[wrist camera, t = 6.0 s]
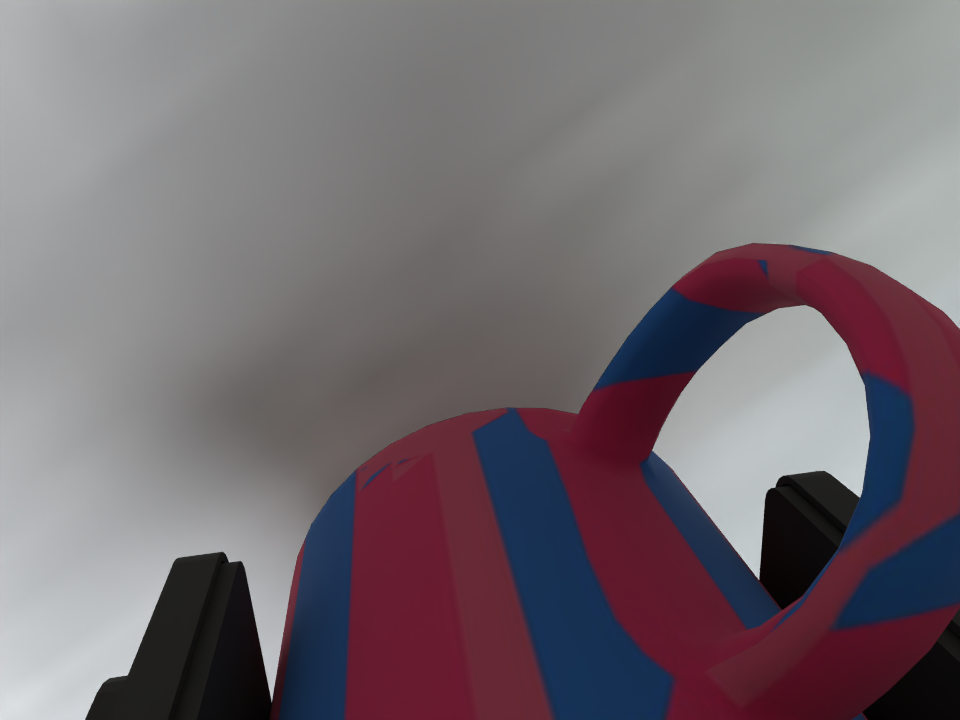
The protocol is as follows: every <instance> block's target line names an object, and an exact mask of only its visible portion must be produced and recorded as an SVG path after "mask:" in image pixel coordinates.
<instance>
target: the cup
mask: <svg viewBox="0 0 960 720" xmlns="http://www.w3.org/2000/svg"><path fill="white" fill-rule="evenodd" d="M800 305H807V306H810V307H813V308H815V309H816V310H818V311H819V312H820V313H822V315H823V316H824V317H825V318H826V319H827V321H828V322H829V323H830V324H831V326H832V327H833V328H834V329H835V330H836V332H837V333H838V334H839V335H840V337H841V338H842V339H843V340H844V341H845V343H846V344H847V346H848V349H849V351H850V353H851V355H852V358H853V360H854V362H855V364H856V367H857V369H858V371H859V373H860V376H861V378H862V380H863V382H864V385H865V392H866V401H867V410H868V419H869V428H870V442H869V449H868V456H867V463H866V470H865V477H864V484H863V491H862V495H861V497H860V499H859V502H858V504H857V506H856V509H855V511H854V513H853V515H852V518H851V520H850V522H849V525H848V527H847V529H846V532H845V534H844V536H843V539H842V541H841V543H840V546H839V548H838V550H837V551H836V552H835V554H834V555H833V556H832V558H831V559H830V560H829V562H828V563H827V564H826V566H825V567H824V568H823V570H822V571H821V572H820V574H819V575H818V576H817V578H816V579H815V580H814V582H813V583H812V584H811V586H810V587H809V588H808V590H807V591H806V592H805V594H804V595H803V596H802V597H800V598H799V599H798V600H796V601H795V602H793V603H792V604H791V605H789V606H788V607H786V608H785V609H783V610H782V609H781V608H780V607H779V605H778V604H777V603H776V601H775V600H774V599H773V598H772V596H771V595H770V594H769V593H768V591H767V590H766V589H765V587H764V586H763V585H762V584H761V582H760V581H759V580H758V578H757V577H756V576H755V575H754V573H753V572H752V571H751V570H750V568H749V567H748V566H747V564H746V563H745V562H744V561H743V559H742V558H741V557H740V555H739V554H738V553H737V552H736V550H735V549H734V548H733V546H732V545H731V544H730V543H729V541H728V540H727V539H726V538H725V536H724V535H723V534H722V532H721V531H720V530H719V529H718V527H717V526H716V525H715V523H714V522H713V521H712V520H711V518H710V517H709V516H708V515H707V513H706V512H705V511H704V509H703V508H702V507H701V506H700V504H699V503H698V502H697V500H696V499H695V498H694V497H693V495H692V494H691V493H690V492H689V490H688V489H687V488H686V486H685V485H684V484H683V483H682V481H681V480H680V479H679V477H678V476H677V475H676V474H675V472H674V471H673V470H672V469H671V468H670V467H669V466H668V465H667V464H666V463H665V462H664V461H663V460H662V459H661V458H659V457H658V456H657V455H656V454H655V453H654V452H653V451H652V449H653V447H654V444H655V442H656V440H657V437H658V435H659V433H660V430H661V428H662V426H663V424H664V422H665V420H666V418H667V416H668V414H669V413H670V411H671V409H672V407H673V406H674V404H675V402H676V401H677V399H678V397H679V396H680V394H681V392H682V391H683V390H684V388H685V387H686V385H687V384H688V383H689V381H690V380H691V379H692V377H693V376H694V375H695V373H696V372H697V371H698V369H699V368H700V367H701V366H702V365H703V364H704V363H705V362H706V361H707V360H708V359H709V358H710V357H711V356H712V355H713V354H714V353H715V352H716V351H717V350H718V349H719V348H720V347H721V346H722V345H723V344H724V343H725V342H726V341H727V340H728V339H729V338H730V337H732V336H733V335H734V334H735V333H736V332H737V331H738V330H739V329H740V328H741V327H743V326H744V325H745V324H746V323H748V322H750V321H752V320H754V319H757V318H759V317H761V316H763V315H765V314H767V313H769V312H771V311H773V310H776V309H778V308H784V307H792V306H800ZM959 608H960V329H959V328H958V327H957V326H956V325H955V324H954V322H953V321H952V320H951V319H950V318H949V317H948V316H947V315H946V314H945V313H944V312H943V311H942V310H940V309H939V308H937V307H936V306H934V305H933V304H931V303H930V302H928V301H927V300H925V299H924V298H922V297H921V296H919V295H918V294H916V293H915V292H913V291H912V290H910V289H909V288H907V287H906V286H904V285H902V284H901V283H899V282H898V281H896V280H894V279H893V278H891V277H889V276H888V275H886V274H884V273H883V272H881V271H880V270H878V269H876V268H875V267H873V266H871V265H868V264H865V263H862V262H859V261H856V260H853V259H850V258H848V257H845V256H842V255H839V254H836V253H833V252H829V251H823V250H817V249H811V248H805V247H799V246H794V245H781V244H759V243H751V244H747V245H743V246H739V247H735V248H731V249H727V250H723V251H719V252H716V253H715V254H714V255H712V256H711V257H709V258H708V259H707V260H705V261H704V262H702V263H701V264H699V265H698V266H697V267H695V268H694V269H692V270H691V271H690V272H688V273H687V274H685V275H684V276H683V277H682V278H681V279H680V280H679V281H678V282H676V283H675V284H674V285H673V286H672V287H671V288H670V289H669V290H668V291H667V292H666V294H665V295H664V296H663V297H662V298H661V299H660V300H659V301H658V302H657V303H656V304H655V305H654V306H653V307H652V308H651V309H650V310H649V312H648V313H647V314H646V315H645V317H644V318H643V319H642V320H641V321H640V323H639V324H638V325H637V326H636V328H635V329H634V330H633V331H632V332H631V334H630V335H629V336H628V337H627V339H626V340H625V342H624V343H623V345H622V346H621V348H620V349H619V351H618V352H617V354H616V355H615V357H614V358H613V360H612V361H611V362H610V364H609V365H608V367H607V368H606V370H605V372H604V373H603V375H602V376H601V378H600V379H599V381H598V382H597V384H596V386H595V387H594V389H593V390H592V392H591V393H590V395H589V396H588V398H587V399H586V401H585V402H584V404H583V406H582V408H581V410H580V412H579V414H573V413H568V412H563V411H558V410H552V409H547V408H501V409H494V410H487V411H480V412H473V413H466V414H463V415H460V416H457V417H454V418H450V419H447V420H444V421H441V422H438V423H434V424H431V425H428V426H426V427H424V428H422V429H420V430H418V431H416V432H414V433H412V434H410V435H408V436H406V437H404V438H402V439H400V440H398V441H396V442H394V443H392V444H390V445H389V446H387V447H386V448H384V449H383V450H382V451H380V452H379V453H378V454H376V455H375V456H373V457H372V458H371V459H369V460H368V461H366V462H365V463H364V464H362V465H361V466H360V467H358V468H357V469H356V470H355V471H354V472H353V473H352V474H351V475H350V476H349V478H348V479H347V480H346V481H345V482H344V483H343V484H342V485H341V486H340V487H339V488H338V489H337V490H336V491H335V492H334V493H333V494H332V495H331V496H330V498H329V499H328V501H327V502H326V504H325V505H324V507H323V508H322V510H321V511H320V513H319V514H318V516H317V517H316V519H315V520H314V522H313V523H312V524H311V527H310V529H309V531H308V534H307V536H306V538H305V541H304V543H303V545H302V547H301V550H300V552H299V554H298V557H297V561H296V566H295V571H294V576H293V581H292V586H291V591H290V597H289V603H288V609H287V615H286V621H285V627H284V633H283V639H282V645H281V651H280V657H279V663H278V669H277V675H276V681H275V688H274V694H273V700H272V706H271V712H270V718H269V720H868V719H867V718H866V717H865V715H864V714H863V713H862V712H863V711H864V710H865V709H866V708H868V707H869V706H870V705H871V704H872V703H874V702H875V701H876V700H877V699H879V698H880V697H881V696H882V695H884V694H885V693H886V692H887V691H889V690H890V689H891V688H892V687H893V686H894V685H895V684H896V683H897V682H898V681H899V680H900V679H901V678H902V677H903V676H904V675H905V674H906V673H907V672H908V671H909V670H910V669H911V668H912V667H913V666H914V665H915V664H916V663H917V662H918V661H919V660H920V659H921V658H922V657H923V656H924V655H925V654H926V653H927V652H928V651H930V649H931V648H932V647H933V645H934V644H935V642H936V641H937V640H938V638H939V637H940V635H941V634H942V633H943V631H944V630H945V628H946V627H947V625H948V624H949V623H950V621H951V620H952V618H953V617H954V616H955V614H956V613H957V611H958V610H959Z"/></svg>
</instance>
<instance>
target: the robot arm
mask: <svg viewBox="0 0 960 720" xmlns="http://www.w3.org/2000/svg"><path fill="white" fill-rule="evenodd" d="M859 499H860V498H859V497H858V496H857V495H855V494H854V493H853V492H852V491H850V490H849V489H848V488H847V487H845V486H844V485H843V484H842V483H841V482H839V481H838V480H837V479H836V478H834V477H833V476H832V475H831V474H829V473H827V472H825V471H816V472H808V473H801V474H794V475H786V476H782V477H781V478H779V480H778V482H777V484H776V488H771V489H769V490H768V492H767V494H766V498H765V509H764V523H763V537H762V551H761V565H760V579H759V581H760V582H761V584H762V585H763V586H764V587H765V589H766V590H767V591H768V593H769V594H770V595H771V596H772V598H773V599H774V600H775V601H776V603H777V604H778V605H779V607H780V608H781V609H782V610H783V609H785V608H786V607H788V606H789V605H791V604H792V603H793V602H795V601H796V600H798V599H799V598H800V597H802V596H803V595H804V594H805V592H806V591H807V590H808V588H809V587H810V586H811V584H812V583H813V582H814V580H815V579H816V578H817V576H818V575H819V574H820V572H821V571H822V570H823V568H824V567H825V566H826V564H827V563H828V562H829V560H830V559H831V558H832V556H833V555H834V554H835V552H836V551H837V550H838V548H839V546H840V543H841V541H842V539H843V536H844V534H845V532H846V529H847V527H848V525H849V522H850V520H851V518H852V515H853V513H854V511H855V509H856V506H857V504H858V502H859ZM271 706H272V702H271V697H270V692H269V687H268V682H267V677H266V672H265V667H264V662H263V657H262V652H261V647H260V642H259V637H258V632H257V627H256V622H255V617H254V612H253V607H252V602H251V597H250V592H249V587H248V582H247V577H246V572H245V568H244V565H243V563H242V562H241V561H238V562H231V563H229V562H228V559H227V556H226V554H225V553H224V552H218V553H211V554H203V555H196V556H189V557H181V558H177V559H176V560H175V561H174V563H173V565H172V568H171V570H170V573H169V575H168V578H167V580H166V583H165V585H164V587H163V590H162V592H161V595H160V597H159V600H158V602H157V605H156V607H155V610H154V612H153V615H152V617H151V620H150V622H149V625H148V627H147V630H146V632H145V634H144V637H143V639H142V642H141V644H140V647H139V649H138V652H137V654H136V657H135V659H134V662H133V664H132V667H131V669H130V672H129V674H128V676H121V677H115V678H109V679H108V680H107V681H105V682H104V683H103V684H102V686H101V687H100V689H99V691H98V692H97V694H96V696H95V699H94V701H93V703H92V705H91V708H90V710H89V712H88V714H87V717H86V719H85V720H269V718H270V712H271ZM862 713H863V714H864V715H865V717H866V718H867V719H868V720H960V608H959V610H958V611H957V613H956V614H955V616H954V617H953V618H952V620H951V621H950V623H949V624H948V625H947V627H946V628H945V630H944V631H943V633H942V634H941V635H940V637H939V638H938V640H937V641H936V642H935V644H934V645H933V647H932V648H931V649H930V651H928V652H927V653H926V654H925V655H924V656H923V657H922V658H921V659H920V660H919V661H918V662H917V663H916V664H915V665H914V666H913V667H912V668H911V669H910V670H909V671H908V672H907V673H906V674H905V675H904V676H903V677H902V678H901V679H900V680H899V681H898V682H897V683H896V684H895V685H894V686H893V687H892V688H891V689H890V690H889V691H887V692H886V693H885V694H884V695H882V696H881V697H880V698H879V699H877V700H876V701H875V702H874V703H872V704H871V705H870V706H869V707H868V708H866V709H865V710H864V711H863V712H862Z"/></svg>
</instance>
